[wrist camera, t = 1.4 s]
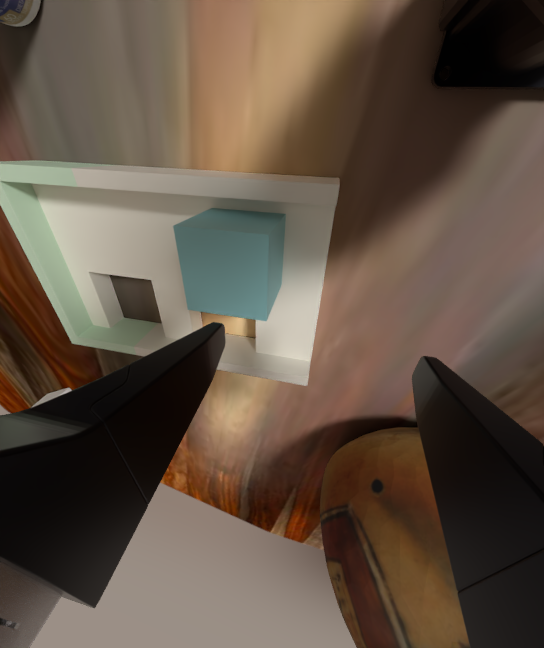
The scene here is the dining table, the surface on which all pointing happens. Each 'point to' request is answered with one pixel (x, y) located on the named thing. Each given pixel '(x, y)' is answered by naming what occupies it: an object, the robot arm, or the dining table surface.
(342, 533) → the ceramic pitcher
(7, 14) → the pill bottle
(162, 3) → the dining table surface
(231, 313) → the block
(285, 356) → the box
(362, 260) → the dining table surface
